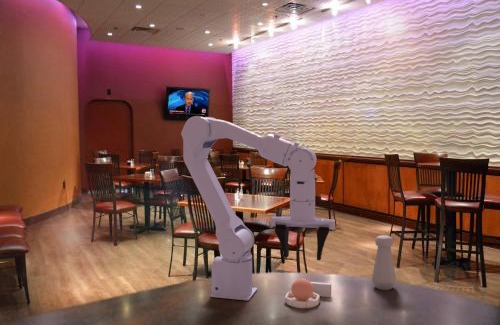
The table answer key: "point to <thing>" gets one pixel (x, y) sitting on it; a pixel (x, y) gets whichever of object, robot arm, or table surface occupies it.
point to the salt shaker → (384, 264)
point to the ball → (302, 289)
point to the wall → (322, 289)
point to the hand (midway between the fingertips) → (302, 258)
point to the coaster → (296, 303)
